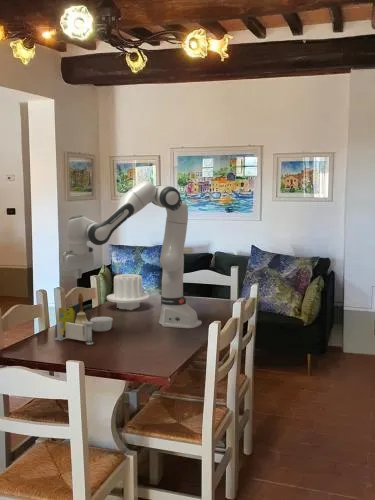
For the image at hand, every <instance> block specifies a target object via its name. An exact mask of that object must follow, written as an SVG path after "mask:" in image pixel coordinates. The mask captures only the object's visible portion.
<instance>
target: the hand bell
mask: <svg viewBox="0 0 375 500" xmlns="http://www.w3.org/2000/svg"><path fill="white" fill-rule="evenodd" d="M77 300H78V304H79V306H78V307H79V312H76V313H77V314H76V317H75V324H81V325H83V324H82V322H90V320H88V318H87V314H86V312H84V309H83V303H84V297H83V293H82V292H81V293H80V292H79V293H78V298H77Z"/></svg>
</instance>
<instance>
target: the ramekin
mask: <svg viewBox="0 0 375 500" xmlns="http://www.w3.org/2000/svg"><path fill="white" fill-rule="evenodd" d="M113 321H114V319H113V317H109V316H96V317H92V318H90V319H89V322H93V325H92V331H93V332H107V331H110V330H111V329H112V324H113Z"/></svg>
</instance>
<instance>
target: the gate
mask: <svg viewBox="0 0 375 500" xmlns="http://www.w3.org/2000/svg"><path fill="white" fill-rule="evenodd" d="M82 324H83V325H81V324H75V323H69V322H66V323H65V331H64V334H65V338H66V339H71V340H78V341H82V342H88V340H87V325H93V322H90V321H89V322H82Z"/></svg>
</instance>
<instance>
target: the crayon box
mask: <svg viewBox="0 0 375 500" xmlns="http://www.w3.org/2000/svg"><path fill="white" fill-rule="evenodd" d="M75 311H76V310H74V308H73V307H59V308H58V322H63V328H64V332H65V323H66V322H69V323H75V320H76V314H75V313H76V312H75Z"/></svg>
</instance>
